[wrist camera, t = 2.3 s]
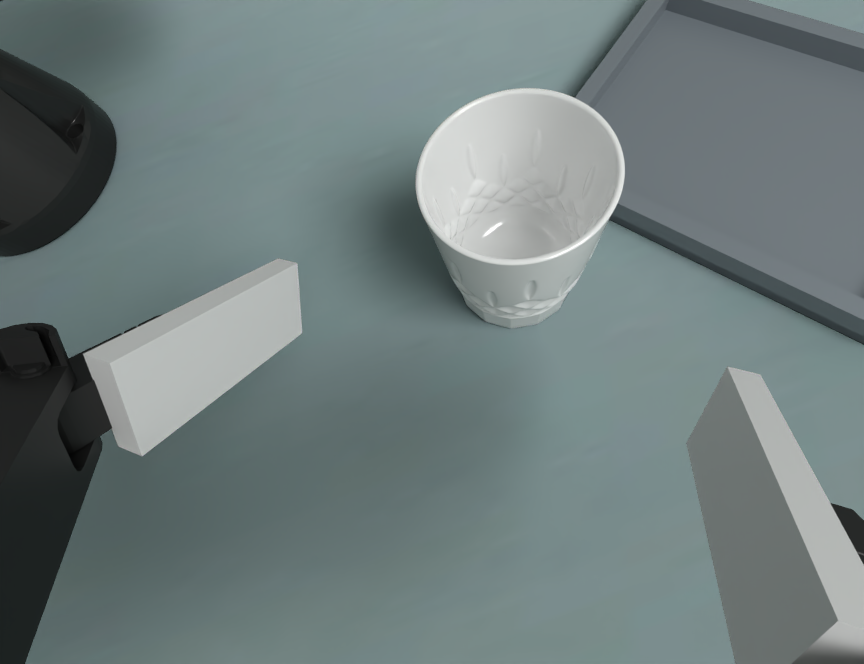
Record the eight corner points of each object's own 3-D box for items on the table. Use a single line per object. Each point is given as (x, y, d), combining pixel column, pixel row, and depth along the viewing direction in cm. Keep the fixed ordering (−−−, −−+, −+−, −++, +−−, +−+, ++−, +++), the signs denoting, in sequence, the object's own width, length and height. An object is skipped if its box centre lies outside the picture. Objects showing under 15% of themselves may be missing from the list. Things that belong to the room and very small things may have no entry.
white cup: (455, 217, 28) (426, 92, 18) (583, 217, 26) (623, 81, 17) (443, 335, 26) (403, 261, 16) (582, 342, 24) (626, 266, 15)
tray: (526, 179, 28) (527, 160, 26) (656, 3, 30) (664, -24, 28) (871, 347, 22) (901, 338, 20) (1003, 112, 24) (1041, 85, 22)
